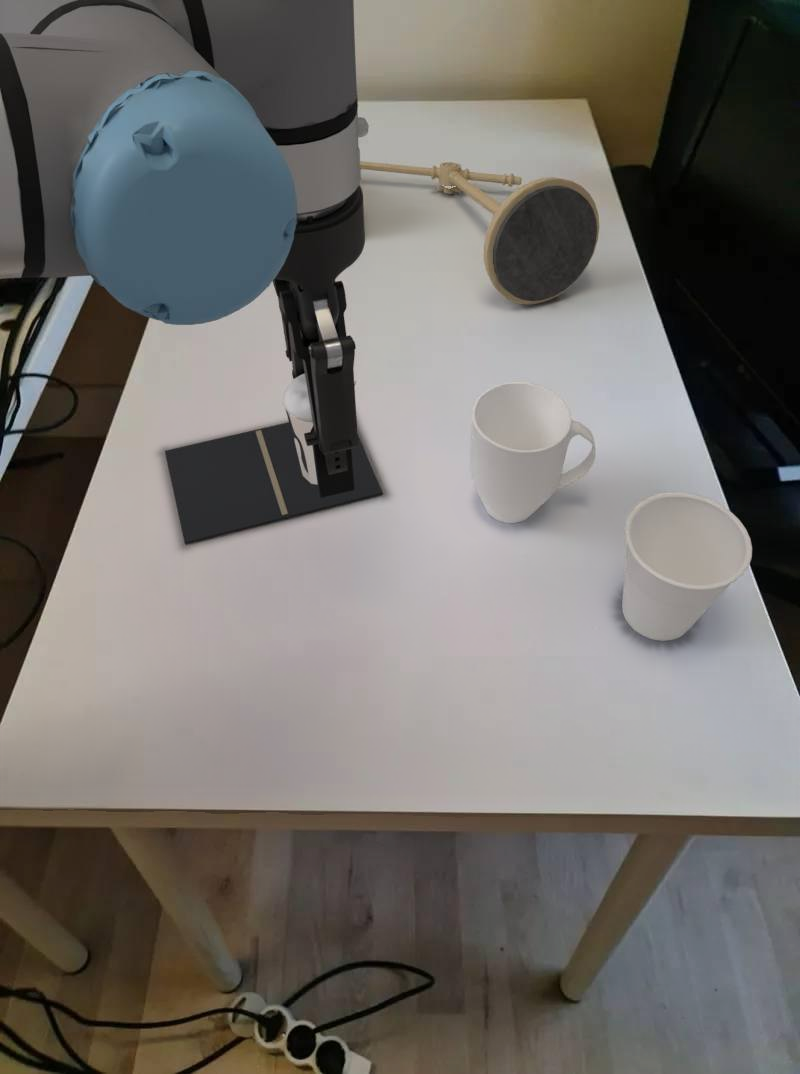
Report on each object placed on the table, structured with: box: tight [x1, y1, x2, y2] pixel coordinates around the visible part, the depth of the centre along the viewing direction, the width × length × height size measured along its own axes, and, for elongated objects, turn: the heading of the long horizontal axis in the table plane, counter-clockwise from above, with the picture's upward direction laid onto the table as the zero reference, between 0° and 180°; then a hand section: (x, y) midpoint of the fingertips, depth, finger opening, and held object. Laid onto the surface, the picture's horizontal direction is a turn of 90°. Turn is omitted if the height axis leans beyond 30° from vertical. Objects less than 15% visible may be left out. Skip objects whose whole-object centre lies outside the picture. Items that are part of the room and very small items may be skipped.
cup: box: [621, 491, 753, 642], centre depth 70 cm, size 10×10×11 cm
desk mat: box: [164, 421, 384, 545], centre depth 86 cm, size 20×13×1 cm, turn 108°
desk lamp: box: [359, 160, 600, 306], centre depth 110 cm, size 15×35×40 cm
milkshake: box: [282, 374, 357, 485], centre depth 62 cm, size 4×5×10 cm
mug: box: [469, 381, 597, 524], centre depth 78 cm, size 12×9×12 cm
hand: (328, 468), depth 66 cm, fingers closed on milkshake, 4 cm apart
